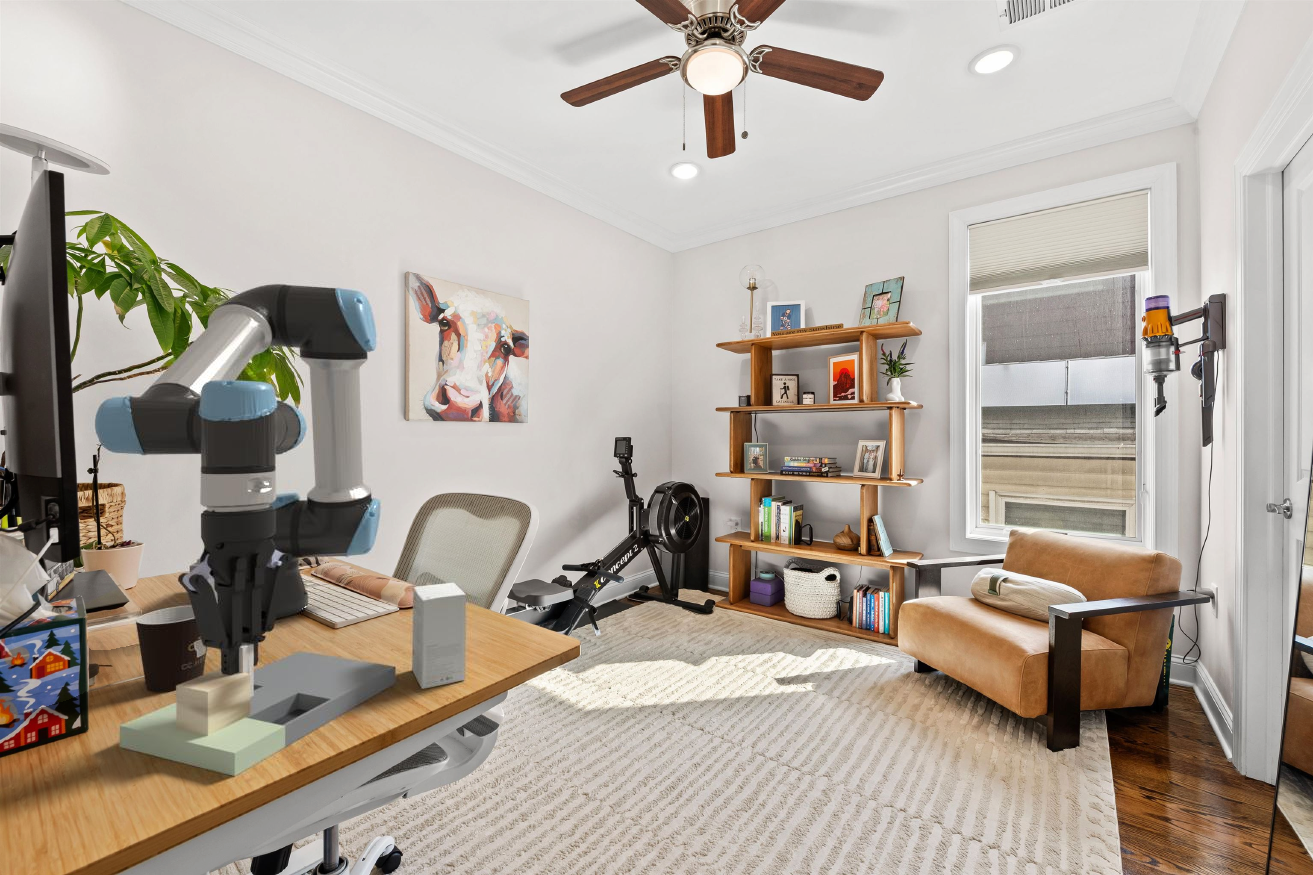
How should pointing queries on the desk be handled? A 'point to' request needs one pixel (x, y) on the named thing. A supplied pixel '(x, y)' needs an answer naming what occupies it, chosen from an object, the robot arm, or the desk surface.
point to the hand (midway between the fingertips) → (240, 696)
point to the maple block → (212, 702)
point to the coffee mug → (170, 648)
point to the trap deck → (265, 713)
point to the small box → (439, 634)
